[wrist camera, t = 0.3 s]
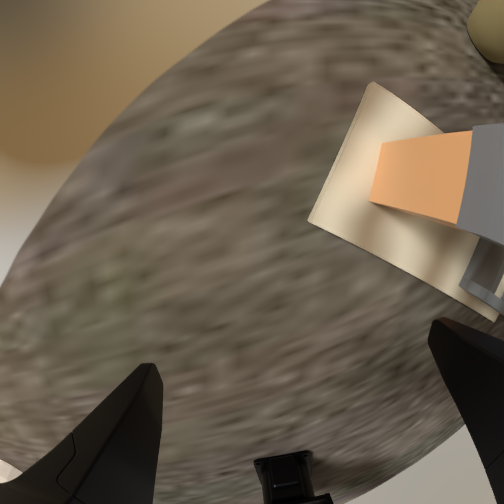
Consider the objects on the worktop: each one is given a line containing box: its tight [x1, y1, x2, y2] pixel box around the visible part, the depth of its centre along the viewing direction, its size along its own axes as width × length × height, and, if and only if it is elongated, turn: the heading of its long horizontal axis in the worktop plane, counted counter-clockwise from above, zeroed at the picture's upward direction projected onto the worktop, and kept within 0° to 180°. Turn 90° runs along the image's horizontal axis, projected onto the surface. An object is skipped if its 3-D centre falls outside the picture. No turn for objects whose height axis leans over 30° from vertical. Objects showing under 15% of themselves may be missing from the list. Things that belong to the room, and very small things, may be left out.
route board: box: [307, 81, 504, 322], centre depth 20 cm, size 26×12×5 cm, turn 66°
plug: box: [369, 123, 504, 248], centre depth 14 cm, size 5×5×12 cm
